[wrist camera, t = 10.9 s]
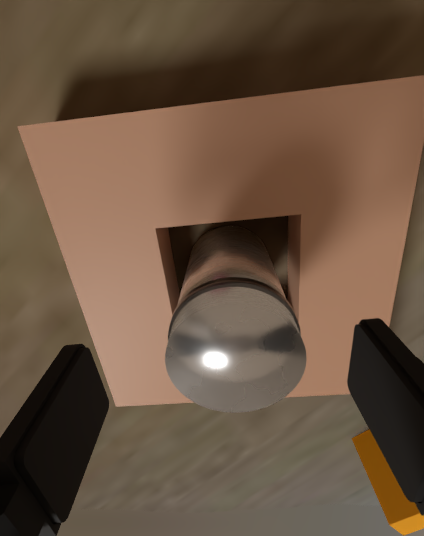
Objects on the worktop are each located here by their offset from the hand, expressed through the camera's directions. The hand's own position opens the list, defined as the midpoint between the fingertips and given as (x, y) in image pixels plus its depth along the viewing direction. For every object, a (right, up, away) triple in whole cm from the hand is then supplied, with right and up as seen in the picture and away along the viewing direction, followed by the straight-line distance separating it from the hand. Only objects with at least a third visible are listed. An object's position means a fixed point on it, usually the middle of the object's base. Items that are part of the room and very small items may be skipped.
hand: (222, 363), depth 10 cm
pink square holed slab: (+1, +4, +8) cm, 9 cm away
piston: (+1, +4, +9) cm, 9 cm away
